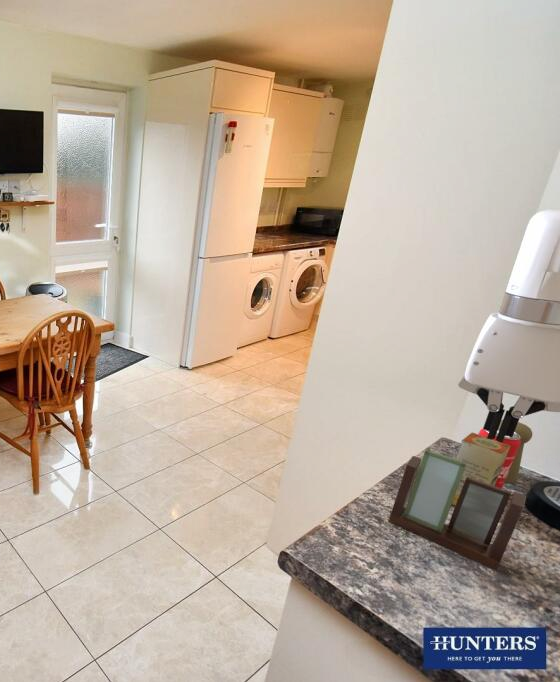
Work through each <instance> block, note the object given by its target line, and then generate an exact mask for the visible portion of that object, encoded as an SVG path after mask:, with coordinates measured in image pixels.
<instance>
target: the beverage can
mask: <svg viewBox="0 0 560 682" xmlns="http://www.w3.org/2000/svg"><path fill="white" fill-rule="evenodd" d="M499 430H500V427H499V428H498V431H497V433H496V436H495V439H493V440H496V438H497V435H498V432H499ZM477 434H478V435H481V436H484V437H488V434H489V431H488V430H484V429H483V428H480V430H479V432H478V433H477ZM496 441H498V440H496ZM503 443H505V444H508V445H511V446H510V449H509V451H508V453H507V456H506V458H505V461H504V463H503V466H502V468H501V471H500V473H499V476H498V478H497V481H496V483H495V487H498V488H500V489H503V487H504V484H505V483H506V482H505V480H506V477H507V475H508V472H509V470H510V467H511V465H512V463H513V460H514V458H515V455H516V453H517V451H518V448H519V446H520V443H521V442H520V436H519V435H518V434H517V433H515V432H514V434H513V437H509V436H506V435H505V437H504V440H503Z"/></svg>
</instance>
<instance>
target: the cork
mask: <svg viewBox="0 0 560 682" xmlns="http://www.w3.org/2000/svg"><path fill="white" fill-rule="evenodd" d="M502 421H503V419H502V420H501V423H500V425H499V427H501V424H502ZM515 433H517V434H518V435H519V436H520V442H521V443H520V446H519V448H518V451H517V453H516V455H515V458H514V460H513V463H512V465H511V467H510V470H509V472H508V475H507V477H506V480H505V482H504V483H508V484H509V483H510V484H512V483H516V482H518V478H519V473H520V468H521V463H522V458H523V454H524V453H523V452H524V448H525V447H524V446H525V444H527V443H528V442H530V441H531V440H532V438H533V430H532V428H530V427H529V426H528V425H526V424H524V423H522V422H519V421H518V424H517V427H516V429H515Z"/></svg>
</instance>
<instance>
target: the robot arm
mask: <svg viewBox="0 0 560 682" xmlns="http://www.w3.org/2000/svg"><path fill="white" fill-rule="evenodd" d="M505 289H506V290H505V291H504V295H503V298H502V301H501V304H500V306H499V310H498V312H491V313H490V315H489V316H488V318H487V319H486V320H485V323H484V324H483V326H482V328H481V330H480V332H479V334H478V337H477V339H476V341H475V343H474V346H473V349H472V351H471V354H470V356H469V359H468V361H467V364H466V367H465V372H464V376H463V377H461V379H460V381H459V382H458V387H459V388H460V389H461V390H464V391H467V392H469V393H472V394H474V395H476V396H478V398H479V399H480V400H481V401H482V402H483V404H484V405H485V406H486V409H487V410H488V413H487V415H486V419H485V422H484V424H483V427H482V429H484V430H488V431H489V434H488V437H487V439H491V440H492V439H495V436H496V433H497V431H498V428H499V425H500V423H501V420H503V421H502V424H501V427H500V430H499V432H498V435H497V438H496V440H498V442H501V443H503V440H504V437H505V435H506V436H509V437H513V434H514V432H515V429H516V427H517V424H518V422H519V421H520V419H523V418H524V417H525V416H528V415H532V414H536V413H538V412H542V411H543V412H549V413H551V412H553V413H560V208H551V209H544V210H541V211H538V212H537V213H535V214H534V215H533V216H532V217H531V218H530V219H529V220H528V223H527V226H526V229H525V232H524V235H523V237H522V241H521V243H520V247H519V249H518V253H517V256H516V259H515V262H514V265H513V268H512V270H511V274H510V278H509V280H508V283H507V286H506V288H505ZM504 394H508V395H513V396H518V398H517V400H516V402H514V403H515V404H514V405H512V406H510V407H509V409H507V410H506V409H504V408H505V405H504V404H503V399H504V398H503V397H504Z"/></svg>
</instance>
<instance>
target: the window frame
mask: <svg viewBox="0 0 560 682" xmlns="http://www.w3.org/2000/svg"><path fill="white" fill-rule="evenodd" d="M421 461H422V458H421V457H418V456H415V455H412V456H411V457H410V459H409V461H408V462H407V463H406V465H405V469H404V472H403V475H402V478H401V481H400V483H399V487H398V490H397V493H396V496H395V499H394V503H393V505H392V509H391V512H390V515H389V518H388V523H391V524H392V525H395V526H398V527H400V528H402V529H404V530H406V531H408V532H410V533H413V534H415V535H417V536H419V537H421V538H424V539H426V540H428V541H430V542H433V543H435V544H437V545H439V546H441V547H444V548H446V549H448V550H451V551H452V552H455V553H456V554H459V555H460V556H463V557H466V558H468V559H470V560H471V561H474V562H477V563H478V564H481V565H483V566H486V567H488V568H490V569H492V570H494V571H497V570H498V568H499V566H500V563H501V561H502V559H503V556H504V554H505V552H506V549H507V548H508V545H509V543H510V541H511V539H512V536H513V533H514V531H515V529H516V527H517V524H518V522H519V520H520V518H521V515H522V513H523V511H524V508H525V504H526V498H527V495H525V494H523V493H520V492H517V491H514V492H513V494H512V492H511V491H508V490H505V489H504V488H502V489H500V488H498V487H495V486H492V485H489V484H486V483H484V482H481V481H478V480H475V479H472V478H470V477H466V479H465V482H464V485H463V487H462V490H461V493H460V495H459V498H458V501H457V503H456V506H455V505H454V509H453V512H452V514H451V517H450V519H449V522H448V524H444V526H443V529H442V531H441V532H439V531H437V530H435V529H432V528H430V527H428V526H425V525H423V524H421V523H419V522H416V521H414V520H412V519H409V518H407V517H405V516H403V515H404V512H405V509H406V506H407V503H408V500H409V497H410V494H411V491H412V488H413V485H414V482H415V479H416V476H417V473H418V470H419V467H420V464H421ZM511 494H512V496H511ZM510 497H511V499H510ZM509 500H510V501H509ZM508 501H509V504H508ZM507 504H508V505H507ZM506 507H507V508H506ZM505 508H506V510H505ZM504 511H505V513H504ZM503 513H504V516H503ZM502 516H503V518H502ZM501 518H502V520H501ZM500 521H501V522H500ZM499 523H500V525H499ZM498 526H499V528H498V530H497V527H498ZM496 530H497V532H496ZM495 533H496V535H495ZM494 535H495V537H494ZM493 537H494V539H493ZM492 539H493V541H492ZM491 542H492V543H491Z"/></svg>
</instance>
